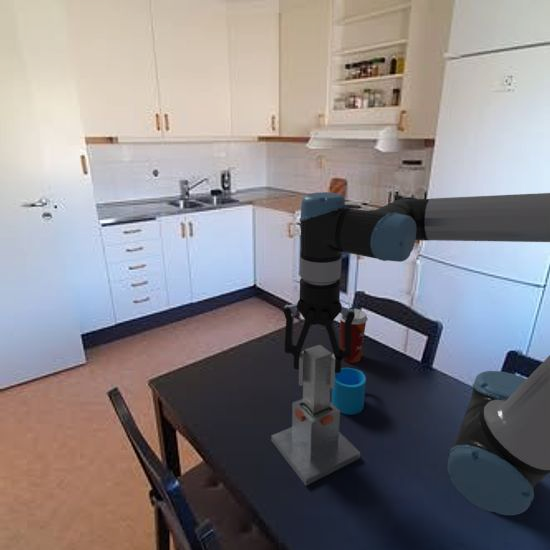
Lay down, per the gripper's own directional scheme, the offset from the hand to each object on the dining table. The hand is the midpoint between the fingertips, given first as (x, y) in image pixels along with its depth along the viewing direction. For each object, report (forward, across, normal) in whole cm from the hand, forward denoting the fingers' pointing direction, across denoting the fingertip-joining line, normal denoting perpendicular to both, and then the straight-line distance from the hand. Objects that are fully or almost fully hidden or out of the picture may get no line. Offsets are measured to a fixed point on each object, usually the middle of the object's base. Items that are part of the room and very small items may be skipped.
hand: (316, 382), depth 82 cm
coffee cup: (+18, -8, -39) cm, 44 cm away
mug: (+18, -8, -18) cm, 27 cm away
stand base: (+17, 0, 0) cm, 17 cm away
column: (+12, 0, 0) cm, 12 cm away
